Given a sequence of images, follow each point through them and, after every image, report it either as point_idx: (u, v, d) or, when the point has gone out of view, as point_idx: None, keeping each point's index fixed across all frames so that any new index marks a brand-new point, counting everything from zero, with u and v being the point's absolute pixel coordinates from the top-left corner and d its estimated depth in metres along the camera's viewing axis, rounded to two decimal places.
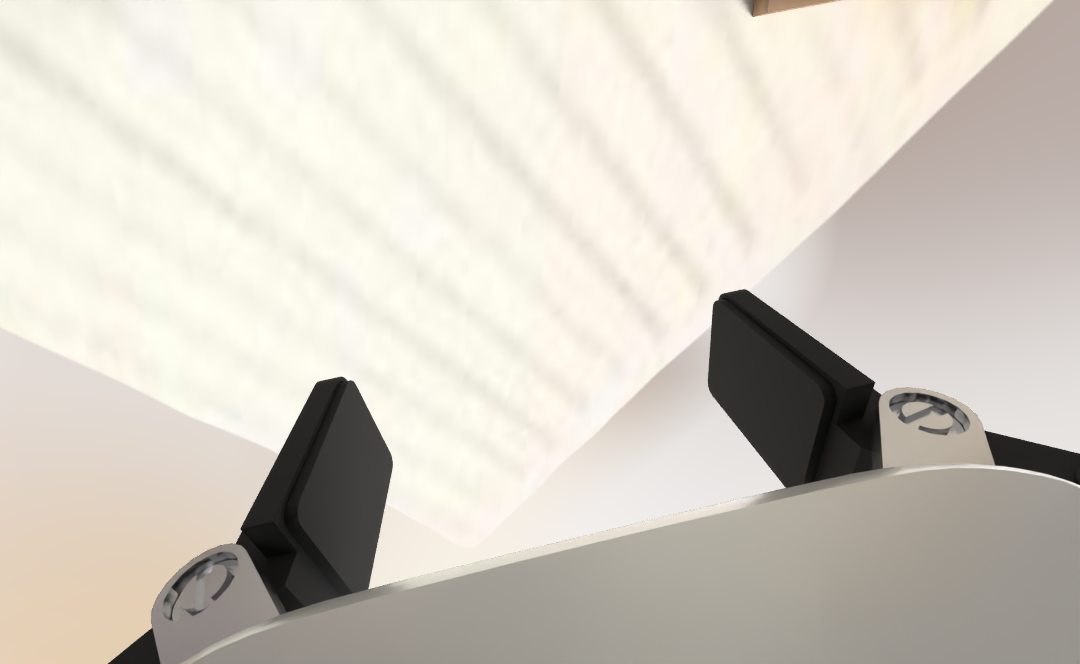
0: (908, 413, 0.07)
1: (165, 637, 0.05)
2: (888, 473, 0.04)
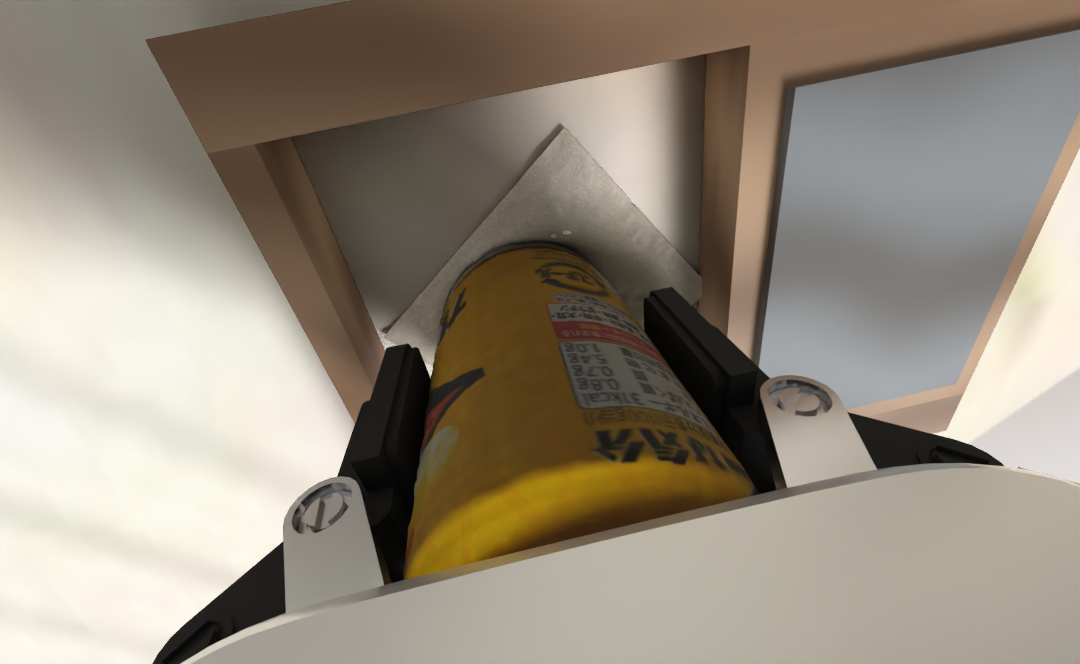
0: (784, 400, 0.07)
1: (302, 545, 0.06)
2: (888, 473, 0.04)
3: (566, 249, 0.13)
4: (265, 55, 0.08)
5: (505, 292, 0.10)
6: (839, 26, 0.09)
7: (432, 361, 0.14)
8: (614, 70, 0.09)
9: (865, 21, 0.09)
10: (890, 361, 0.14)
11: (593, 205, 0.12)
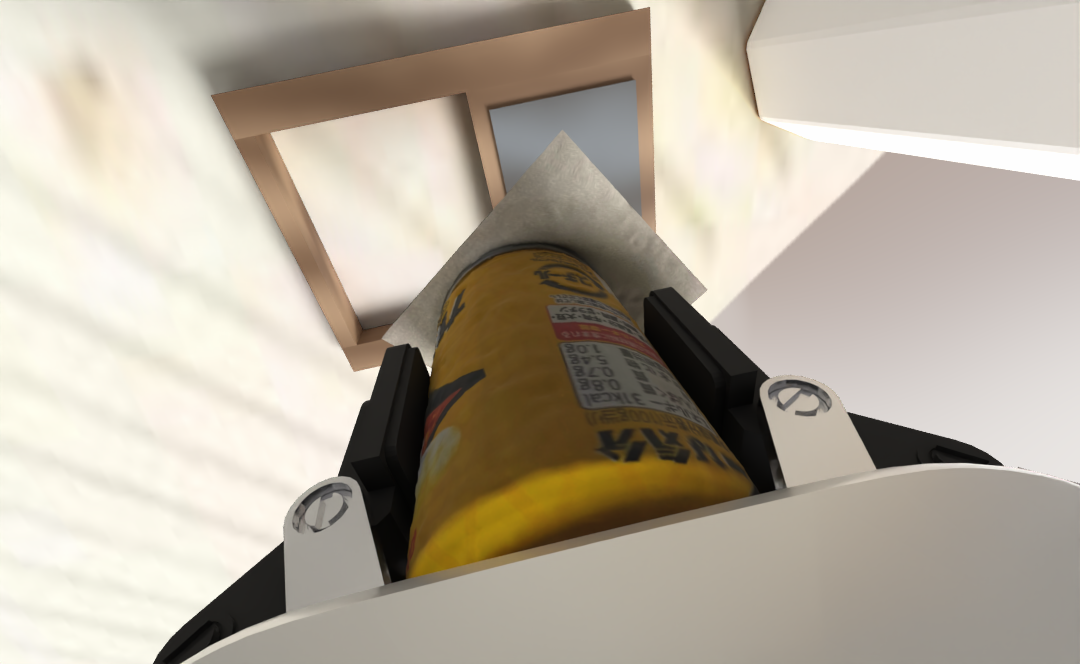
0: (784, 400, 0.07)
1: (303, 545, 0.06)
2: (888, 473, 0.04)
3: (564, 251, 0.13)
4: (257, 100, 0.20)
5: (504, 294, 0.10)
6: (504, 84, 0.22)
7: (429, 363, 0.14)
8: (406, 103, 0.21)
9: (516, 81, 0.22)
10: None
11: (591, 207, 0.12)
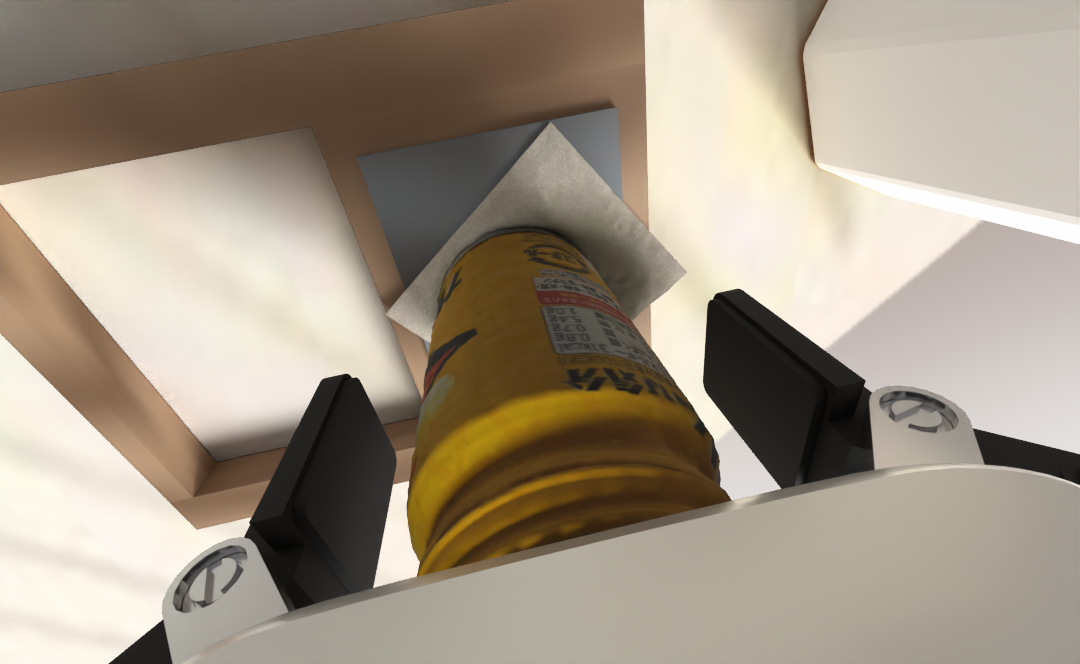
0: (898, 411, 0.07)
1: (177, 628, 0.05)
2: (888, 473, 0.04)
3: (553, 235, 0.14)
4: None
5: (495, 269, 0.11)
6: (382, 112, 0.12)
7: (429, 338, 0.15)
8: (200, 145, 0.12)
9: (402, 108, 0.12)
10: None
11: (577, 193, 0.14)
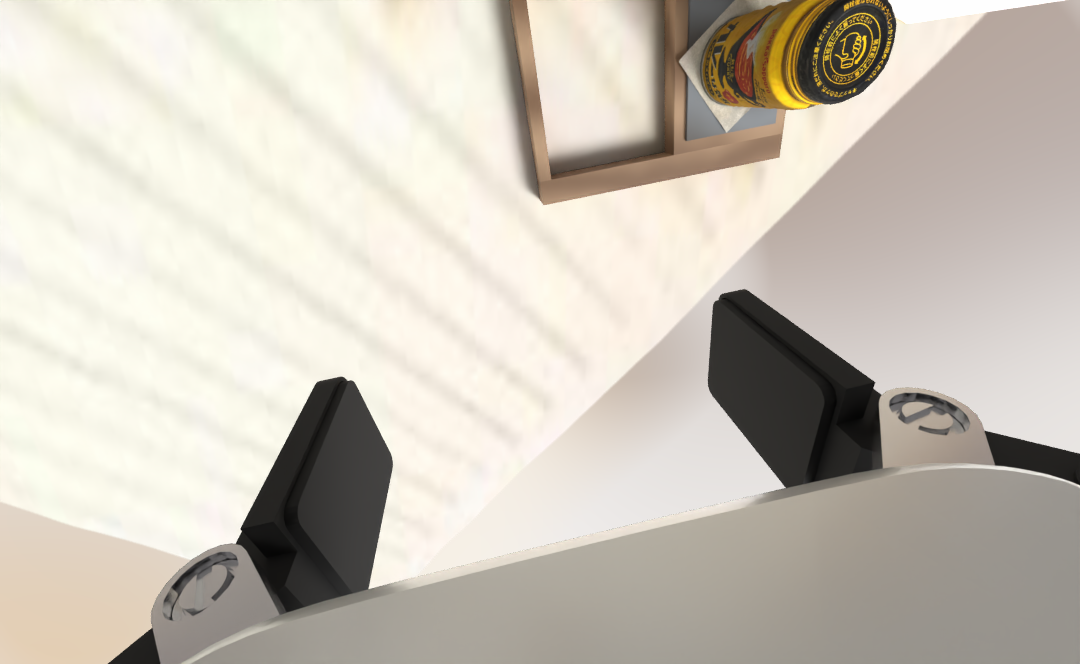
0: (908, 413, 0.07)
1: (165, 637, 0.05)
2: (888, 473, 0.04)
3: None
4: None
5: (760, 9, 0.28)
6: None
7: (692, 78, 0.33)
8: None
9: None
10: None
11: None
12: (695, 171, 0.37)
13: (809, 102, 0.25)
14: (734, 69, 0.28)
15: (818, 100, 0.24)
